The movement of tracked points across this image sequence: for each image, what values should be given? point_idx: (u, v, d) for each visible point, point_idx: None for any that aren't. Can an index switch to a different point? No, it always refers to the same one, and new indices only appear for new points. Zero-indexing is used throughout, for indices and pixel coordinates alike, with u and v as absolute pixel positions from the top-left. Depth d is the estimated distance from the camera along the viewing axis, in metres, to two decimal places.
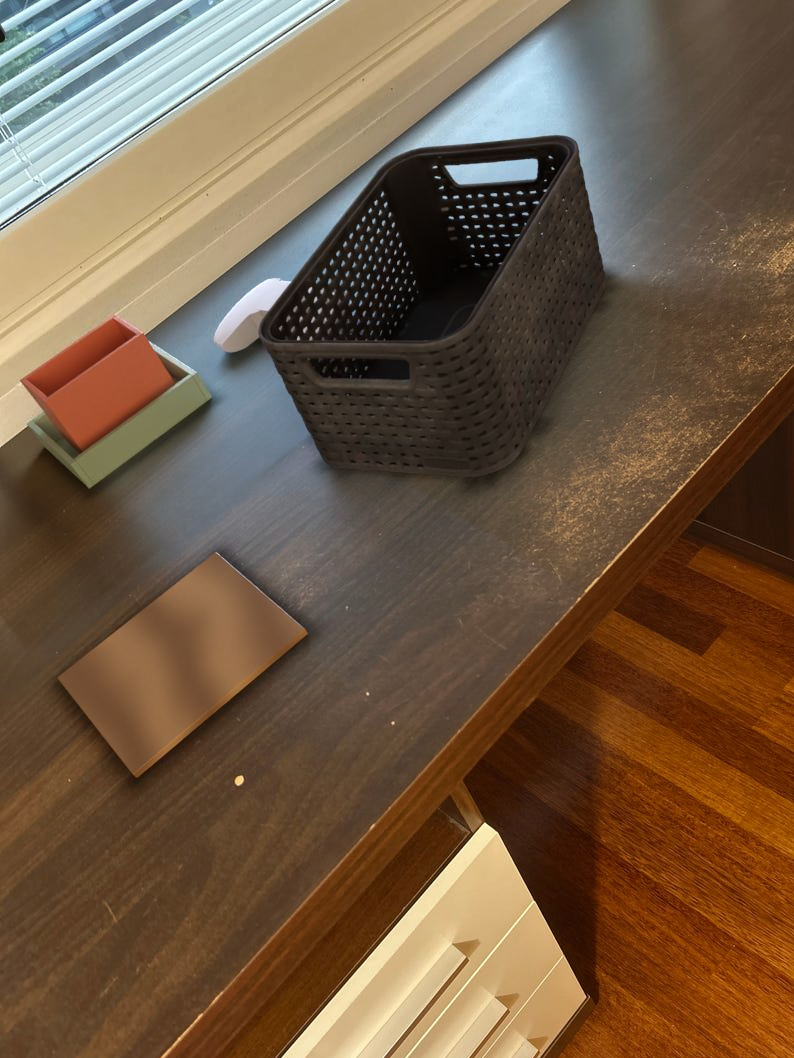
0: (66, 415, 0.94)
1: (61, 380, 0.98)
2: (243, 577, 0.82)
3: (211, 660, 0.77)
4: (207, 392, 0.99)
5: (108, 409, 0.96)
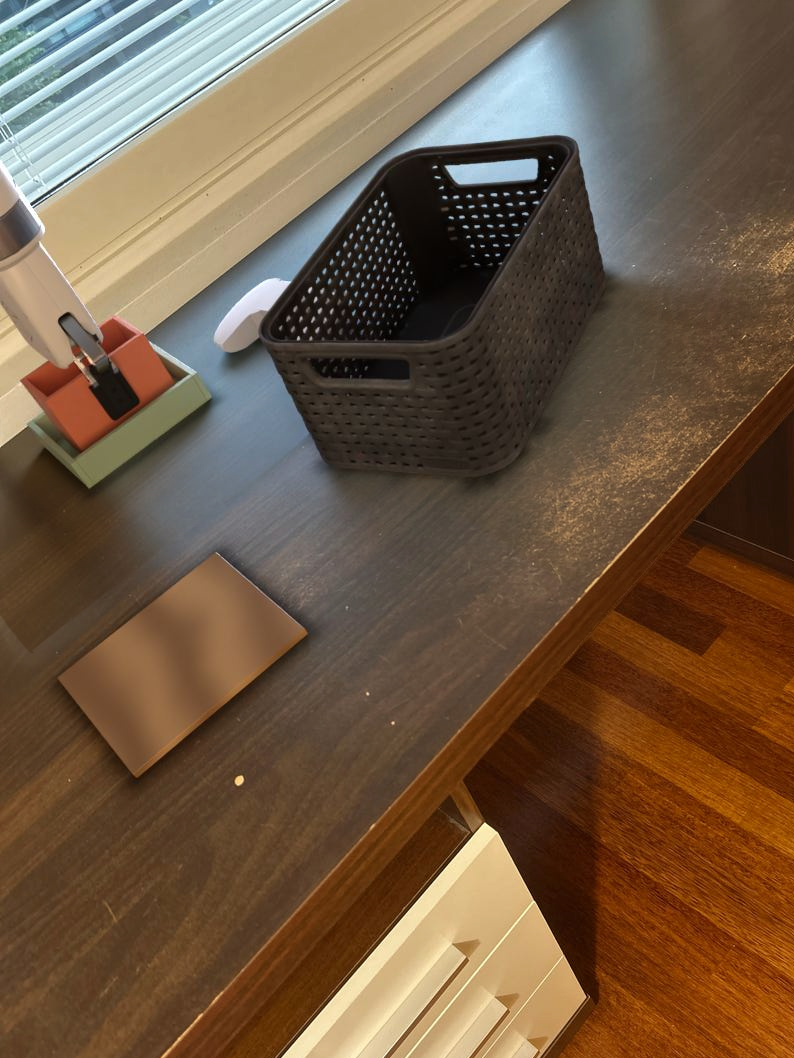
0: (66, 415, 0.94)
1: (61, 380, 0.98)
2: (243, 577, 0.82)
3: (211, 660, 0.77)
4: (207, 392, 0.99)
5: None
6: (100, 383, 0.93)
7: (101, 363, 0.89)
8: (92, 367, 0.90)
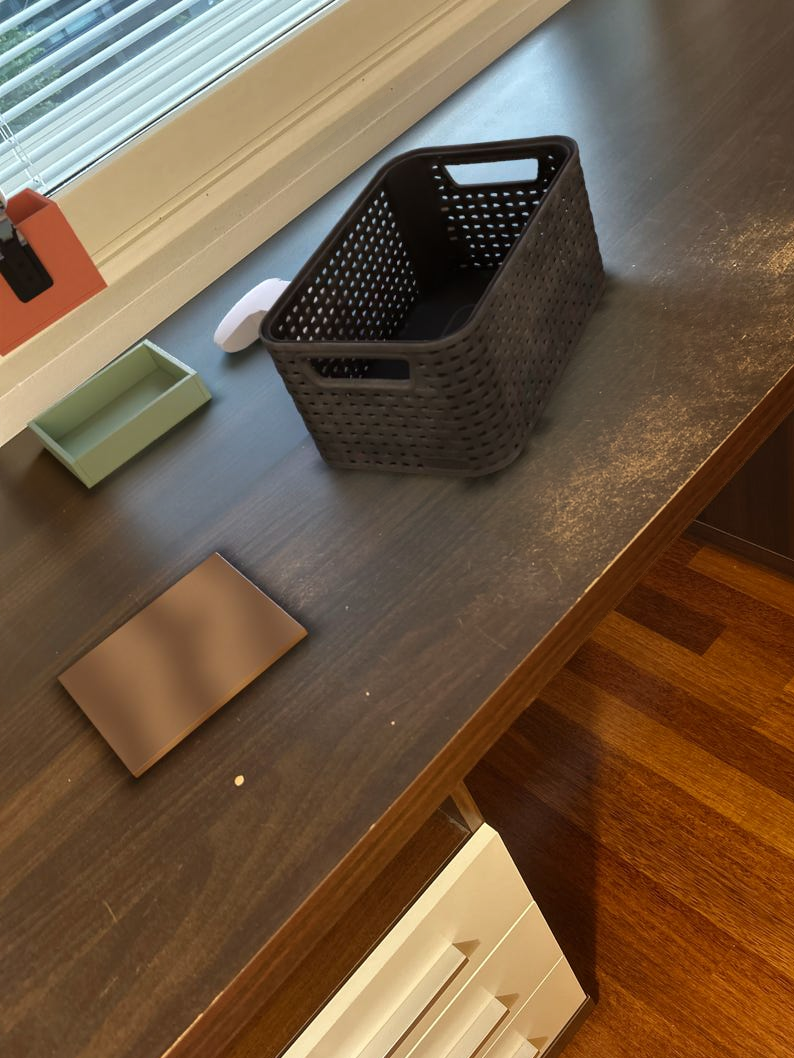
0: None
1: None
2: (243, 577, 0.82)
3: (211, 660, 0.77)
4: (207, 392, 0.99)
5: None
6: (5, 255, 0.82)
7: (2, 226, 0.78)
8: None
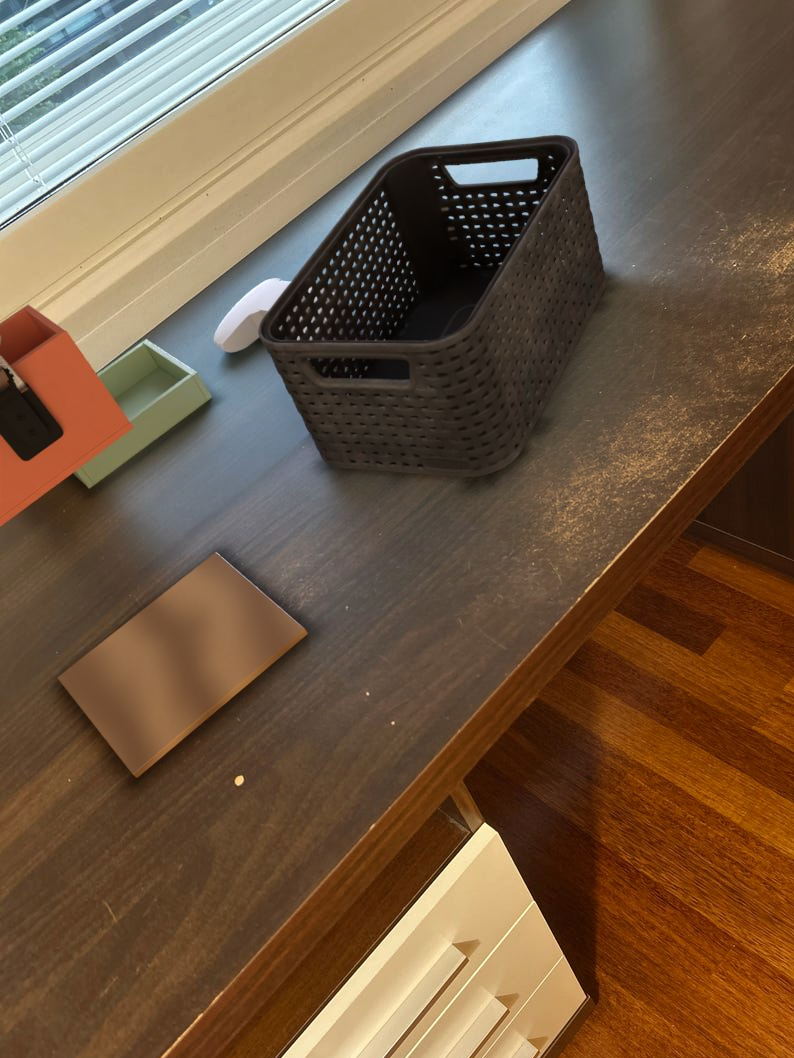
0: None
1: None
2: (243, 577, 0.82)
3: (211, 660, 0.77)
4: (207, 392, 0.99)
5: None
6: None
7: None
8: None
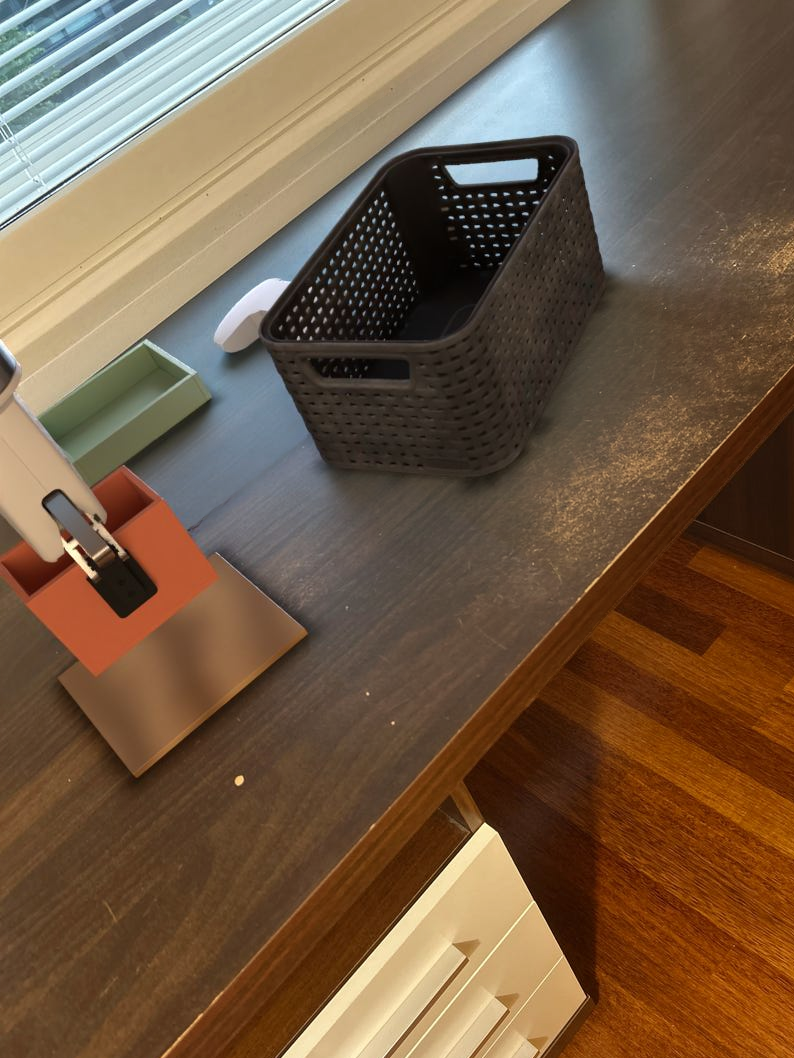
0: (56, 618, 0.67)
1: None
2: (243, 577, 0.82)
3: (211, 660, 0.77)
4: (207, 392, 0.99)
5: None
6: (103, 576, 0.66)
7: (104, 559, 0.62)
8: (91, 561, 0.63)
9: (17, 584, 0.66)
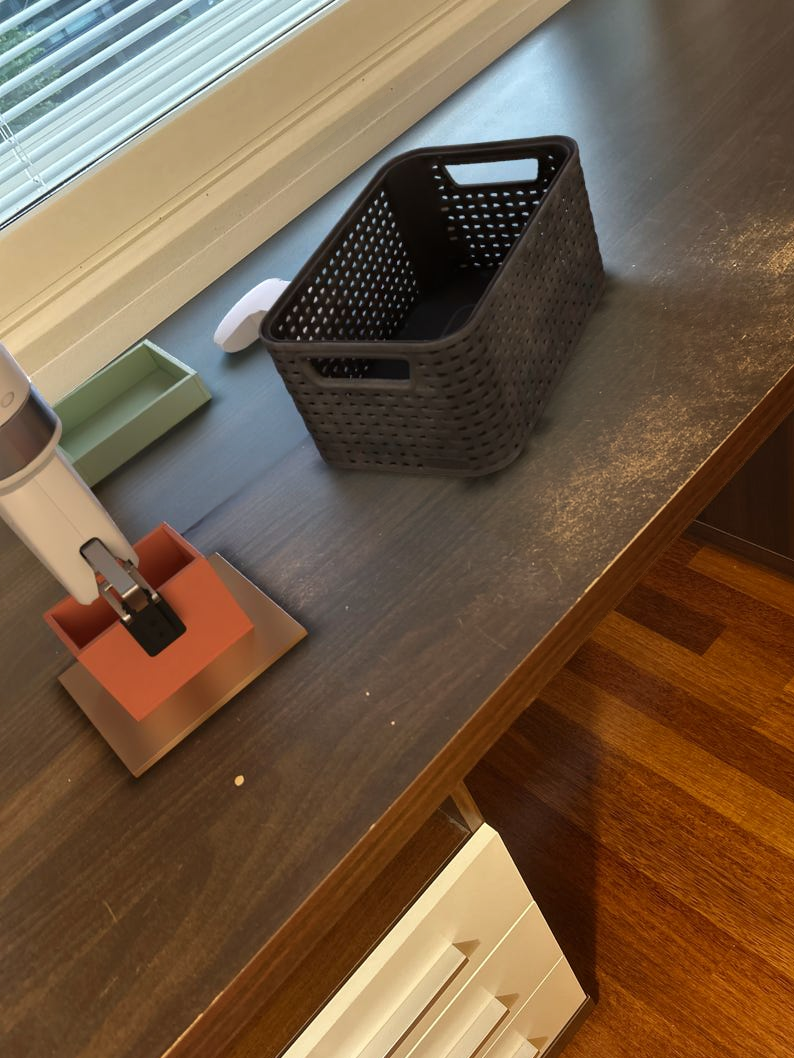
0: (103, 669, 0.71)
1: (95, 609, 0.75)
2: (243, 577, 0.82)
3: None
4: (207, 392, 0.99)
5: None
6: (136, 618, 0.67)
7: (133, 597, 0.64)
8: (125, 603, 0.65)
9: (67, 637, 0.71)
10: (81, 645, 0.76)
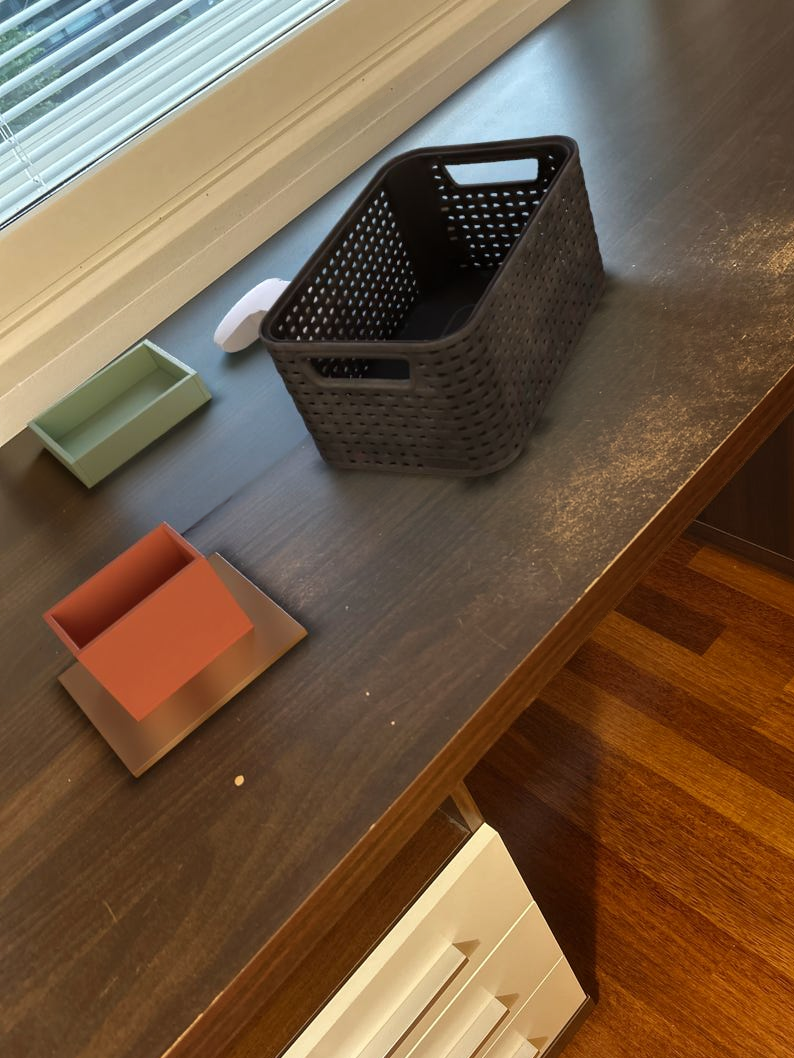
0: (103, 669, 0.71)
1: (95, 609, 0.75)
2: (243, 577, 0.82)
3: None
4: (207, 392, 0.99)
5: (158, 653, 0.73)
6: None
7: None
8: None
9: (67, 637, 0.71)
10: (81, 645, 0.76)
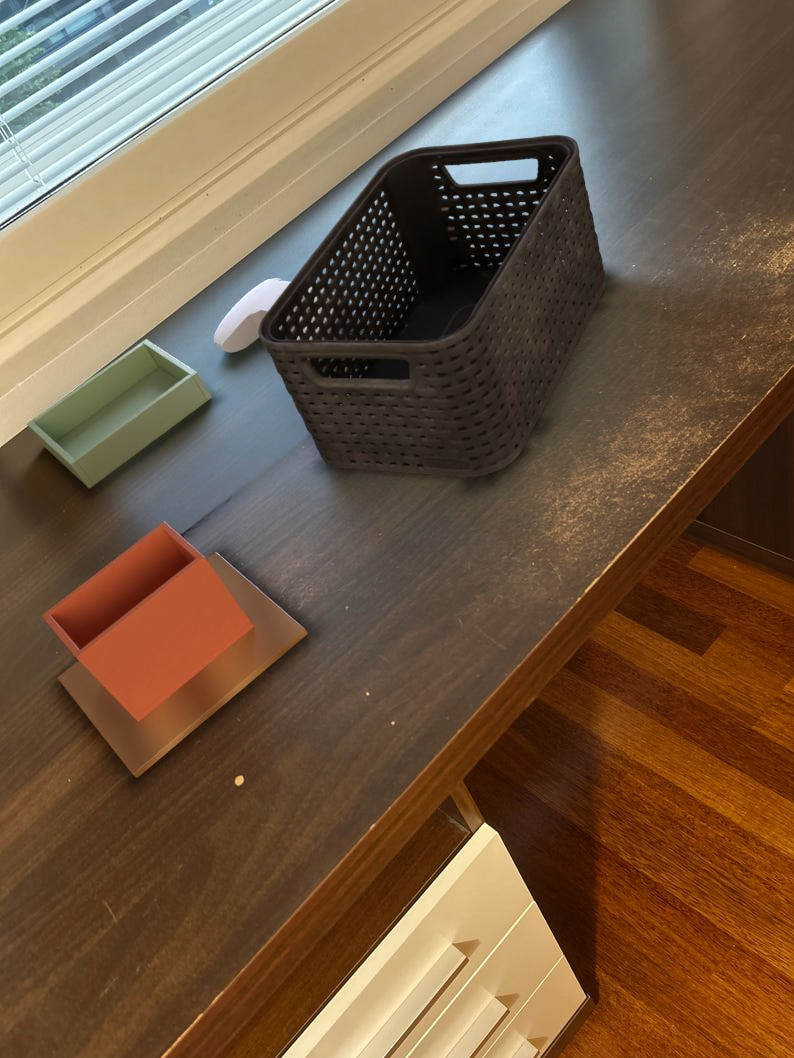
0: (103, 669, 0.71)
1: (95, 609, 0.75)
2: (243, 577, 0.82)
3: None
4: (207, 392, 0.99)
5: (158, 653, 0.73)
6: None
7: None
8: None
9: (67, 637, 0.71)
10: (81, 645, 0.76)
